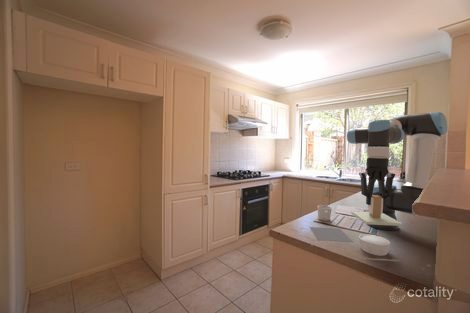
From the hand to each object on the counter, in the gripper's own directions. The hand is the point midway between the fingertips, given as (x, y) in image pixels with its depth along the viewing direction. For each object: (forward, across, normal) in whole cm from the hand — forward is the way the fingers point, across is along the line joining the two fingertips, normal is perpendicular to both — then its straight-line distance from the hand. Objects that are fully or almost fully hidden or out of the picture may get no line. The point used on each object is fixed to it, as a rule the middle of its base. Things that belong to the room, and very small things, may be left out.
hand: (374, 212), depth 89 cm
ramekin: (+17, 0, 0) cm, 17 cm away
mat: (+17, +13, -15) cm, 26 cm away
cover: (+3, 0, 0) cm, 3 cm away
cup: (+17, +9, -36) cm, 41 cm away
